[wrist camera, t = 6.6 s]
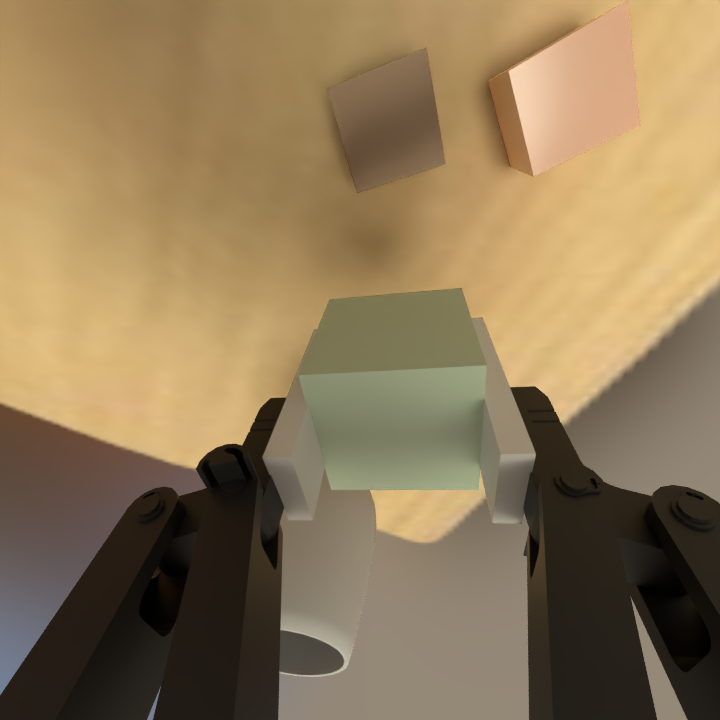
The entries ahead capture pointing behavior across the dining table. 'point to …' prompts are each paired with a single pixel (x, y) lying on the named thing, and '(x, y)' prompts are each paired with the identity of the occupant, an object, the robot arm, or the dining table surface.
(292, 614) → the wineglass
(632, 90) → the terracotta cube
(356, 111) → the walnut cube
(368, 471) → the sage cube
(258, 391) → the dining table surface
